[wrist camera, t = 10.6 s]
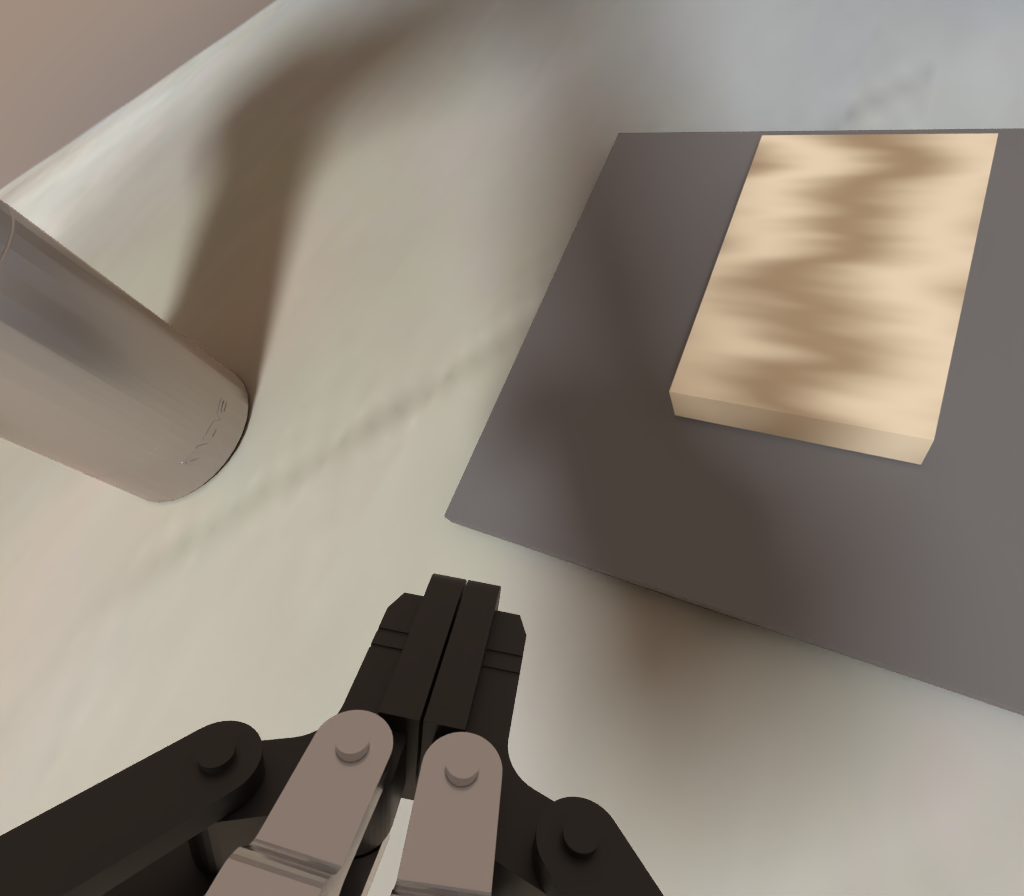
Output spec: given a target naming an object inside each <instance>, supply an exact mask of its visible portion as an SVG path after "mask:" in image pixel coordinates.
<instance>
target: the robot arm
mask: <svg viewBox="0 0 1024 896" xmlns="http://www.w3.org/2000/svg"><path fill="white" fill-rule="evenodd" d="M247 413H248V396H247V391H246V389H245V386H244V383H243V382H242V381H241V380H240V378H239V377H238V376H237V375H236V374H234V373H233V372H232V371H230V370H229V369H228V368H226V367H225V366H224V365H222V364H221V363H220V362H218V361H217V360H216V359H214V358H213V357H211V356H210V355H209V354H207V353H206V352H205V351H203V350H202V349H201V348H199V347H198V346H197V345H195V344H194V343H193V342H191V341H190V340H189V339H188V338H186V337H185V336H184V335H182V334H181V333H180V332H178V331H177V330H176V329H174V328H173V327H172V326H170V325H169V324H168V323H166V322H165V321H164V320H162V319H161V318H160V317H158V316H157V315H156V314H154V313H153V312H152V311H150V310H149V309H147V308H146V307H145V306H143V305H142V304H141V303H139V302H138V301H137V300H135V299H134V298H133V297H131V296H130V295H129V294H127V293H126V292H125V291H123V290H122V289H121V288H119V287H118V286H117V285H115V284H114V283H113V282H111V281H110V280H109V279H107V278H106V277H105V276H103V275H102V274H100V273H99V272H98V271H96V270H95V269H94V268H92V267H91V266H90V265H88V264H87V263H86V262H84V261H83V260H82V259H80V258H79V257H78V256H76V255H75V254H74V253H72V252H71V251H70V250H68V249H67V248H66V247H64V246H63V245H62V244H60V243H59V242H57V241H56V240H55V239H53V238H52V237H51V236H49V235H48V234H47V233H45V232H44V231H43V230H41V229H40V228H39V227H37V226H36V225H35V224H33V223H32V222H31V221H29V220H28V219H27V218H25V217H24V216H23V215H21V214H20V213H19V212H17V211H16V210H15V209H13V208H12V207H10V206H9V205H8V204H6V203H4V202H3V201H2V200H0V437H1V438H4V439H6V440H8V441H11V442H13V443H15V444H18V445H20V446H22V447H25V448H27V449H29V450H32V451H34V452H36V453H38V454H41V455H43V456H45V457H48V458H50V459H52V460H55V461H57V462H59V463H62V464H64V465H66V466H69V467H71V468H73V469H75V470H78V471H80V472H82V473H84V474H86V475H89V476H91V477H93V478H96V479H98V480H100V481H103V482H105V483H108V484H110V485H112V486H115V487H117V488H119V489H122V490H124V491H126V492H129V493H131V494H133V495H136V496H138V497H140V498H143V499H145V500H147V501H153V502H165V501H172V500H175V499H178V498H180V497H183V496H185V495H187V494H189V493H191V492H192V491H194V490H196V489H197V488H199V487H201V486H202V485H203V484H204V483H205V482H207V481H208V480H209V479H210V478H211V477H213V476H214V475H215V474H216V472H217V471H218V470H219V469H220V468H221V467H222V466H223V465H224V464H225V462H226V461H227V459H228V458H229V457H230V455H231V454H232V452H233V451H234V449H235V447H236V445H237V443H238V441H239V439H240V437H241V435H242V433H243V430H244V427H245V423H246V420H247ZM500 591H501V586H496V585H491V584H486V583H481V582H476V581H471V580H468V582H467V585H466V580H465V579H460V578H455V577H449V576H444V575H439V574H433V575H432V577H431V579H430V582H429V584H428V587H427V590H426V592H425V595H424V596H419V595H414V594H409V593H404V594H403V595H401V596H400V597H399V598H398V599H397V600H396V601H395V602H394V603H392V604H391V605H390V606H389V607H388V608H387V610H386V612H385V615H384V617H383V619H382V621H381V623H380V625H379V629H378V631H377V632H376V634H375V636H374V639H373V641H372V643H371V647H369V650H368V652H367V654H366V656H365V658H364V660H363V663H362V665H361V667H360V669H359V671H358V674H357V676H356V678H355V680H354V682H353V685H352V687H351V689H350V691H349V693H348V695H347V698H346V700H345V702H344V704H343V706H342V708H341V710H340V711H339V713H338V714H337V715H335V716H333V717H331V718H330V719H328V720H327V721H326V722H325V723H324V724H323V725H322V726H321V727H320V728H319V729H318V730H317V731H315V732H312V733H310V734H307V735H304V736H300V737H293V738H284V739H274V740H264V741H261V738H260V736H259V734H258V733H257V732H256V730H255V729H253V728H252V727H251V726H249V725H247V724H245V723H242V722H238V721H222V722H216V723H213V724H210V725H207V726H205V727H203V728H201V729H199V730H197V731H195V732H193V733H192V734H190V735H188V736H186V737H184V738H182V739H180V740H179V741H177V742H175V743H173V744H171V745H169V746H167V747H165V748H164V749H162V750H160V751H158V752H156V753H154V754H152V755H151V756H149V757H147V758H145V759H143V760H141V761H139V762H137V763H136V764H134V765H132V766H130V767H128V768H126V769H124V770H123V771H121V772H119V773H117V774H115V775H113V776H111V777H109V778H108V779H106V780H104V781H102V782H100V783H98V784H96V785H95V786H93V787H91V788H89V789H87V790H85V791H83V792H81V793H80V794H78V795H76V796H74V797H72V798H70V799H68V800H67V801H65V802H63V803H61V804H59V805H57V806H55V807H53V808H52V809H50V810H48V811H46V812H44V813H42V814H40V815H39V816H37V817H35V818H33V819H31V820H29V821H27V822H25V823H24V824H22V825H20V826H18V827H16V828H14V829H12V830H11V831H9V832H7V833H5V834H3V835H1V836H0V896H367V895H368V892H369V889H370V887H371V884H372V882H373V879H374V877H375V874H376V871H377V869H378V866H379V864H380V861H381V859H382V856H383V853H384V851H385V848H386V846H387V843H388V840H389V835H390V830H391V827H392V825H393V821H394V818H395V815H396V812H397V809H398V805H399V802H400V799H401V798H406V799H410V800H414V802H413V807H412V812H411V816H410V821H409V826H408V830H407V835H406V840H405V844H404V849H403V854H402V858H401V863H400V868H399V872H398V877H397V881H396V884H395V887H394V889H393V890H392V893H391V896H663V894H662V893H661V891H660V890H659V888H658V887H657V885H656V883H655V882H654V880H653V879H652V877H651V876H650V874H649V873H648V871H647V870H646V868H645V867H644V865H643V864H642V862H641V861H640V859H639V858H638V856H637V855H636V853H635V852H634V850H633V849H632V847H631V846H630V844H629V843H628V841H627V840H626V838H625V837H624V835H623V834H622V832H621V830H620V829H619V827H618V826H617V824H616V823H615V821H614V820H613V819H612V817H611V816H610V815H609V814H608V813H607V812H606V811H605V810H604V809H603V808H602V807H600V806H599V805H598V804H596V803H594V802H592V801H590V800H587V799H585V798H580V797H566V798H561V799H559V800H556V801H555V802H554V801H552V800H551V799H549V798H547V797H546V796H544V795H542V794H541V793H539V792H537V791H536V790H534V789H533V788H531V787H530V786H528V785H527V784H526V783H525V782H524V781H523V780H522V779H521V778H520V777H519V776H518V774H517V773H516V771H515V770H514V768H513V766H512V764H511V761H510V758H509V754H508V738H509V732H510V726H511V721H512V715H513V709H514V703H515V698H516V692H517V686H518V680H519V674H520V669H521V663H522V657H523V651H524V646H525V640H526V633H525V630H524V627H523V624H522V620H521V617H520V615H516V614H511V613H506V612H501V611H498V605H499V598H500Z"/></svg>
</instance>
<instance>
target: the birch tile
mask: <svg viewBox="0 0 1024 896" xmlns="http://www.w3.org/2000/svg"><path fill="white" fill-rule="evenodd" d="M997 137H998V133H982V134H865V135H762V137H761V140H760V142H759V145H758V148H757V151H756V153H755V156H754V159H753V162H752V164H751V167H750V170H749V173H748V175H747V178H746V181H745V184H744V187H743V189H742V192H741V195H740V198H739V200H738V203H737V206H736V209H735V211H734V214H733V217H732V220H731V222H730V225H729V228H728V231H727V233H726V236H725V239H724V242H723V244H722V247H721V250H720V253H719V255H718V258H717V261H716V264H715V266H714V269H713V272H712V275H711V277H710V280H709V283H708V286H707V289H706V291H705V294H704V297H703V300H702V302H701V305H700V308H699V311H698V313H697V316H696V319H695V322H694V324H693V327H692V330H691V333H690V335H689V338H688V341H687V344H686V346H685V349H684V352H683V355H682V357H681V360H680V363H679V366H678V368H677V371H676V374H675V377H674V379H673V382H672V385H671V388H670V391H669V393H670V397H671V401H672V405H673V409H674V413H675V415H676V416H681V417H686V418H691V419H696V420H701V421H706V422H711V423H716V424H721V425H726V426H731V427H736V428H741V429H746V430H751V431H756V432H761V433H766V434H771V435H776V436H781V437H786V438H791V439H796V440H801V441H806V442H811V443H816V444H821V445H825V446H830V447H835V448H840V449H845V450H850V451H855V452H860V453H865V454H870V455H875V456H880V457H885V458H890V459H895V460H900V461H905V462H910V463H915V464H920V465H921V464H922V462H923V460H924V458H925V456H926V454H927V453H928V451H929V449H930V447H931V445H932V443H933V441H934V438H935V433H936V428H937V424H938V419H939V414H940V409H941V404H942V400H943V395H944V390H945V385H946V381H947V376H948V371H949V366H950V362H951V357H952V352H953V347H954V342H955V338H956V333H957V328H958V323H959V319H960V314H961V309H962V304H963V300H964V295H965V290H966V285H967V280H968V276H969V271H970V266H971V261H972V257H973V252H974V247H975V242H976V238H977V233H978V228H979V223H980V218H981V214H982V209H983V204H984V199H985V195H986V190H987V185H988V180H989V176H990V171H991V166H992V161H993V157H994V152H995V147H996V142H997Z"/></svg>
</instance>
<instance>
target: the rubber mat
mask: <svg viewBox="0 0 1024 896" xmlns="http://www.w3.org/2000/svg"><path fill="white" fill-rule="evenodd" d="M982 133H998V137H997V142H996V147H995V152H994V157H993V161H992V166H991V171H990V176H989V180H988V185H987V190H986V195H985V199H984V204H983V209H982V214H981V218H980V223H979V228H978V233H977V238H976V242H975V247H974V252H973V257H972V261H971V266H970V271H969V276H968V280H967V285H966V290H965V295H964V300H963V304H962V309H961V314H960V319H959V323H958V328H957V333H956V338H955V342H954V347H953V352H952V357H951V362H950V366H949V371H948V376H947V381H946V385H945V390H944V395H943V400H942V404H941V409H940V414H939V419H938V424H937V428H936V433H935V438H934V441H933V443H932V445H931V447H930V449H929V451H928V453H927V454H926V456H925V458H924V460H923V462H922V464H921V465H920V464H915V463H910V462H905V461H900V460H895V459H890V458H885V457H880V456H875V455H870V454H865V453H860V452H855V451H850V450H845V449H840V448H835V447H830V446H825V445H821V444H816V443H811V442H806V441H801V440H796V439H791V438H786V437H781V436H776V435H771V434H766V433H761V432H756V431H751V430H746V429H741V428H736V427H731V426H726V425H721V424H716V423H711V422H706V421H701V420H696V419H691V418H686V417H681V416H676V415H675V413H674V409H673V405H672V401H671V397H670V393H669V391H670V388H671V385H672V382H673V379H674V377H675V374H676V371H677V368H678V366H679V363H680V360H681V357H682V355H683V352H684V349H685V346H686V344H687V341H688V338H689V335H690V333H691V330H692V327H693V324H694V322H695V319H696V316H697V313H698V311H699V308H700V305H701V302H702V300H703V297H704V294H705V291H706V289H707V286H708V283H709V280H710V277H711V275H712V272H713V269H714V266H715V264H716V261H717V258H718V255H719V253H720V250H721V247H722V244H723V242H724V239H725V236H726V233H727V231H728V228H729V225H730V222H731V220H732V217H733V214H734V211H735V209H736V206H737V203H738V200H739V198H740V195H741V192H742V189H743V187H744V184H745V181H746V178H747V175H748V173H749V170H750V167H751V164H752V162H753V159H754V156H755V153H756V151H757V148H758V145H759V142H760V140H761V137H762V135H865V134H982ZM444 516H445V517H446V518H447V519H449V520H450V521H451V522H453V523H456V524H459V525H462V526H465V527H468V528H471V529H474V530H477V531H480V532H483V533H486V534H489V535H492V536H495V537H498V538H501V539H504V540H507V541H510V542H512V543H515V544H518V545H521V546H524V547H527V548H530V549H533V550H536V551H539V552H542V553H545V554H548V555H551V556H554V557H557V558H560V559H563V560H566V561H569V562H572V563H575V564H578V565H580V566H583V567H586V568H589V569H592V570H595V571H598V572H601V573H604V574H607V575H610V576H613V577H616V578H619V579H622V580H625V581H628V582H631V583H634V584H637V585H640V586H643V587H645V588H648V589H651V590H654V591H657V592H660V593H663V594H666V595H669V596H672V597H675V598H678V599H681V600H684V601H687V602H690V603H693V604H696V605H699V606H702V607H705V608H708V609H711V610H713V611H716V612H719V613H722V614H725V615H728V616H731V617H734V618H737V619H740V620H743V621H746V622H749V623H752V624H755V625H758V626H761V627H764V628H767V629H770V630H773V631H776V632H779V633H781V634H784V635H787V636H790V637H793V638H796V639H799V640H802V641H805V642H808V643H811V644H814V645H817V646H820V647H823V648H826V649H829V650H832V651H835V652H838V653H841V654H844V655H846V656H849V657H852V658H855V659H858V660H861V661H864V662H867V663H870V664H873V665H876V666H879V667H882V668H885V669H888V670H891V671H894V672H897V673H900V674H903V675H906V676H909V677H912V678H914V679H917V680H920V681H923V682H926V683H929V684H932V685H935V686H938V687H941V688H944V689H947V690H950V691H953V692H956V693H959V694H962V695H965V696H968V697H971V698H974V699H977V700H980V701H982V702H985V703H988V704H991V705H994V706H997V707H1000V708H1003V709H1006V710H1009V711H1012V712H1015V713H1018V714H1021V715H1024V129H938V130H849V131H761V132H672V133H619V134H618V136H617V138H616V141H615V143H614V145H613V147H612V149H611V152H610V154H609V156H608V158H607V160H606V163H605V165H604V167H603V169H602V171H601V174H600V176H599V178H598V180H597V182H596V184H595V187H594V189H593V191H592V193H591V195H590V198H589V200H588V202H587V204H586V206H585V209H584V211H583V213H582V215H581V217H580V220H579V222H578V224H577V226H576V228H575V231H574V233H573V235H572V237H571V239H570V241H569V244H568V246H567V248H566V250H565V252H564V255H563V257H562V259H561V261H560V263H559V266H558V268H557V270H556V272H555V274H554V277H553V279H552V281H551V283H550V285H549V287H548V290H547V292H546V294H545V296H544V298H543V301H542V303H541V305H540V307H539V309H538V312H537V314H536V316H535V318H534V320H533V323H532V325H531V327H530V329H529V331H528V334H527V336H526V338H525V340H524V342H523V344H522V347H521V349H520V351H519V353H518V355H517V358H516V360H515V362H514V364H513V366H512V369H511V371H510V373H509V375H508V377H507V380H506V382H505V384H504V386H503V388H502V391H501V393H500V395H499V397H498V399H497V401H496V404H495V406H494V408H493V410H492V412H491V415H490V417H489V419H488V421H487V423H486V426H485V428H484V430H483V432H482V434H481V437H480V439H479V441H478V443H477V445H476V448H475V450H474V452H473V454H472V456H471V458H470V461H469V463H468V465H467V467H466V469H465V472H464V474H463V476H462V478H461V480H460V483H459V485H458V487H457V489H456V491H455V494H454V496H453V498H452V500H451V502H450V504H449V507H448V509H447V511H446V513H445V515H444Z"/></svg>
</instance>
